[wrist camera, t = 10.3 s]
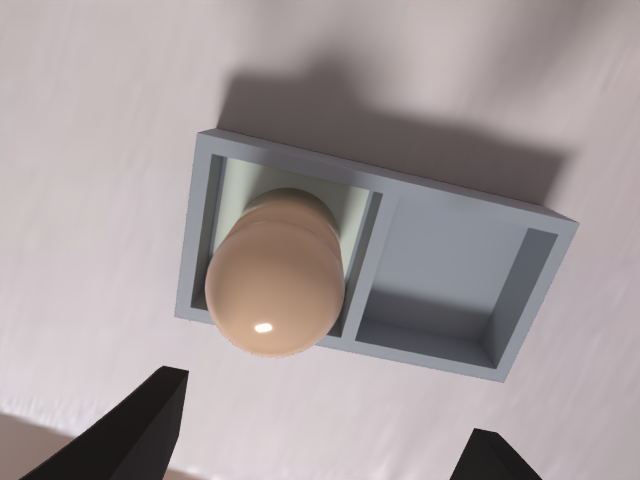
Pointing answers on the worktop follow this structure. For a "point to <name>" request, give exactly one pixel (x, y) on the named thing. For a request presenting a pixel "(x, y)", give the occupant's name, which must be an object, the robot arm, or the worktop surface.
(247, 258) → the tan capsule
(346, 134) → the worktop surface
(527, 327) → the divided tray
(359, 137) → the worktop surface
